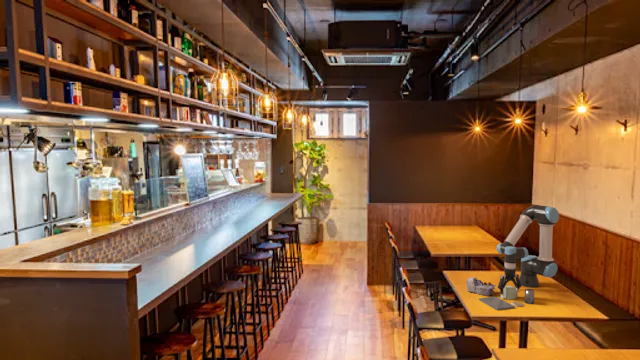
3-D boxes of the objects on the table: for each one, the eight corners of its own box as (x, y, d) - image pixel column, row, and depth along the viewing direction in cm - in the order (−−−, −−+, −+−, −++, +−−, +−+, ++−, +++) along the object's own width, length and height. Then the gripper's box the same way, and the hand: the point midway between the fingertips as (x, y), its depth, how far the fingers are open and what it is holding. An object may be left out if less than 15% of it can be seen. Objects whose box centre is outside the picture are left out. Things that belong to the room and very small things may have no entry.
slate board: (495, 298, 302) (495, 296, 302) (514, 308, 283) (514, 306, 283) (478, 300, 299) (478, 298, 299) (497, 310, 279) (497, 308, 279)
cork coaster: (517, 302, 294) (517, 301, 294) (526, 306, 286) (526, 305, 286) (508, 303, 292) (508, 302, 292) (516, 307, 284) (516, 306, 284)
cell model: (468, 274, 324) (496, 278, 314) (468, 288, 325) (495, 292, 315) (465, 279, 312) (494, 283, 303) (465, 293, 313) (493, 298, 304)
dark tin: (529, 300, 296) (530, 288, 296) (536, 303, 291) (536, 291, 290) (522, 301, 295) (523, 289, 294) (528, 304, 289) (529, 292, 289)
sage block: (509, 296, 306) (510, 285, 306) (515, 298, 301) (515, 288, 300) (502, 296, 305) (503, 286, 304) (508, 299, 299) (508, 288, 298)
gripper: (519, 265, 308) (519, 294, 309) (492, 267, 302) (492, 297, 303) (527, 268, 300) (526, 297, 302) (499, 270, 295) (498, 300, 296)
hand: (509, 297), depth 303 cm, fingers open, 11 cm apart
